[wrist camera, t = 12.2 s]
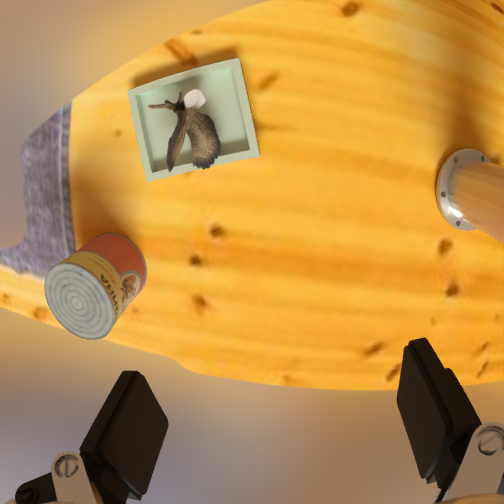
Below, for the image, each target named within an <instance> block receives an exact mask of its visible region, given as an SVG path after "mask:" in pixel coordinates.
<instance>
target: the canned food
mask: <svg viewBox="0 0 504 504" xmlns="http://www.w3.org/2000/svg"><path fill="white" fill-rule="evenodd" d="M146 279H147V268H146V263H145V260H144V258H143V255H142V254H141V252H140V250H139V249H138V248H137V247H136V245H135V244H134V243H133V242H131V241H130V240H129V239H127V238H126V237H124V236H122V235H119V234H115V233H105V234H101V235H99V236H97V237H96V238H95V239H93V240H92V241H91V242H89V243H88V244H86V245H85V246H83V247H82V248H81V249H79V250H78V251H76V252H75V253H73V254H72V255H70V256H69V257H68V258H66V259H65V260H63V261H62V262H60V263H59V264H57V265H55V266H54V267H52V268H51V269H50V271H49V272H48V274H47V276H46V279H45V296H46V300H47V303H48V305H49V307H50V309H51V311H52V313H53V315H54V316H55V318H56V319H57V320H58V321H59V323H60V324H61V325H62V326H63V327H65V328H66V329H67V330H68V331H70V332H71V333H73V334H74V335H76V336H78V337H81V338H84V339H89V340H97V339H101V338H103V337H105V336H106V335H107V334H108V333H109V332H110V331H111V329H112V327H113V326H114V324H115V323H116V322H117V320H118V319H119V318H120V316H121V315H122V314H123V312H124V311H125V310H126V308H127V307H128V306H129V305H130V303H131V302H132V301H133V299H134V298H135V297H136V296H137V294H138V293H139V292H140V291H141V290H142V289H143V287H144V285H145V283H146Z"/></svg>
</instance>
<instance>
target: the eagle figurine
mask: <svg viewBox="0 0 504 504" xmlns="http://www.w3.org/2000/svg"><path fill="white" fill-rule="evenodd" d="M205 101H206V100H205V97H204V95H203V92H202V91H200V90H199V89H193V90H190V91H189V92H187V93H186V94H185V96H184V100H183V101H182V92H179V98H178V100H177V103H172V102H170V101H168V100H165V101H164V103H165V104H158V105H148V107H149V108H152V109H156V108H166V109H168V110H173V112H174V113H176V114H177V117H178V122H177V126H176V127H175V130H174V132H173V133H172V136H171V137H170V138H169V142H168V147H167V148H168V150H167V158H166V162H167V167H168V168H167V169H168V170H169V173H170V172H171V171H172V169H173V166H174V162H175V160H176V157H177V155H178V154H179V153H180V151H181V149H182V147H183V143H184V140H185V136H186V135H185V134H187V135H188V136H189V139H190V141H191V147H192V163H193V166H196V167H197V168H202V169H206V168H207V169H208V168H210V165H211V164H212V165H213V164H214V162H215V159H217V158H218V155H219V154H220V150H221V149H220V148H221V144H220V143H221V141H220V140H219V136H218V134H217V131H216V128H215V127H214V126H215V124H214V122H213V120H212V119H211V118H210V116H208V115H204V114H203V113H202V114H201V113H200V112H197V110H198V109H199V108H200V107H201V106H202V105H203V104H204V103H205Z"/></svg>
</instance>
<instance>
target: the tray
mask: <svg viewBox="0 0 504 504" xmlns="http://www.w3.org/2000/svg"><path fill="white" fill-rule="evenodd" d="M193 89H199V90H200V91H202V92H203V95H204V97H205V100H206V101H205V103H204V104H203V105H202V106H201V107H200V108H199V109H198V110H197V112H200V113H201V114H202V113H203V114H204V115H208V116H210V118H211V119H212V120H213V122H214V124H215V126H214V127H215V128H216V131H217V134H218V136H219V140H220V141H221V143H220V144H221V148H220V149H221V150H220V154H219V155H218V158H217V159H215V162H214V164H213V165H212V164H211V165H210V167H211V166H215V165H220V164H224V163H229V162H234V161H239V160H244V159H249V158H254V157H259V156H260V151H259V146H258V141H257V136H256V131H255V127H254V122H253V117H252V112H251V108H250V103H249V98H248V94H247V89H246V85H245V80H244V75H243V71H242V66H241V62H240V60H239V58H235V59H231V60H226V61H222V62H218V63H214V64H210V65H206V66H202V67H198V68H194V69H191V70H187V71H184V72H180V73H177V74H174V75H171V76H167V77H164V78H161V79H158V80H155V81H152V82H149V83H147V84H144V85H141V86H138V87H136V88H133V89H130V90H128V96H129V102H130V107H131V112H132V117H133V122H134V127H135V132H136V136H137V141H138V146H139V150H140V154H141V159H142V163H143V167H144V171H145V176H146V180H147V182H150V181H154V180H157V179H161V178H165V177H169V176H173V175H177V174H181V173H185V172H189V171H193V170H197V169H202V168H197V167H196V166H193V163H192V147H191V141H190V139H189V136H188V135H187V134H185V135H186V136H185V140H184V143H183V147H182V149H181V151H180V153H179V154H178V155H177V157H176V160H175V162H174V166H173V169H172V171H171V172H170V173H169V170H168V169H167V168H168V167H167V162H166V158H167V150H168V148H167V147H168V142H169V138H170V137H171V136H172V133H173V132H174V130H175V127H176V126H177V122H178V117H177V114H176V113H174V112H173V110H168V109H166V108H156V109H152V108H149V107H148V105H158V104H165V103H164V101H165V100H168V101H170V102H172V103H177V100H178V98H179V92H182V101H183V100H184V96H185V94H186V93H187V92H189V91H190V90H193Z"/></svg>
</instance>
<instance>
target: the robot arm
mask: <svg viewBox="0 0 504 504" xmlns="http://www.w3.org/2000/svg"><path fill="white" fill-rule="evenodd" d="M441 192H442V193H441ZM436 197H437V203H438V207H439V210H440V212H441V214H442V216H443V217H444V218H445V220H446V221H447V222H448V223H449V224H450V225H452V226H453V227H455V228H457V229H460V230H463V231H470V230H474V229H476V228H477V229H479V230H481V231H483V232H484V233H486V234H488V235H490V236H491V237H493V238H495V239H496V240H498V241H500V242H501V243H503V244H504V166H502V165H497V164H493V163H491V161H490V159H489V158H488V157H487V156H486V155H485V154H483V153H482V152H480V151H478V150H475V149H469V148H466V149H460V150H457V151H455V152H454V153H452V154H451V155H450V156H449V157H448V158H447V159H446V160H445V162H444V163H443V165H442V167H441V169H440V171H439V175H438V178H437V184H436ZM397 405H398V408H399V411H400V414H401V417H402V420H403V423H404V426H405V428H406V432H407V434H408V438H409V441H410V444H411V447H412V450H413V454H414V457H415V460H416V463H417V467H418V470H419V473H420V476H421V478H422V479H424V478H426V480H427V484H430V483H432V482H437V485H438V488H440V491H439V492H438V495H437V496H436V499H435V500H434V502H433V504H504V425H503V424H501V423H498V422H488V423H484V424H482V423H481V421H480V419H479V418H478V416H477V414H476V412H475V410H474V408H473V406H472V404H471V402H470V401H469V399H468V397H467V395H466V393H465V392H464V390H463V388H462V386H461V385H460V383H459V381H458V379H457V378H456V376H455V374H454V373H453V371H452V370H451V369H450V368H446V369H445V368H444V367H443V365H442V363H441V361H440V360H439V358H438V356H437V355H436V353H435V351H434V350H433V348H432V346H431V345H430V343H429V342H428V340H427V339H426V338H425V337H424V338H420V339H416V340H411V341H410V342H409V344H408V346H405V347H404V353H403V361H402V368H401V375H400V381H399V387H398V393H397ZM167 429H168V420H167V417H166V415H165V414H164V412H163V410H162V408H161V407H160V405H159V403H158V401H157V400H156V398H155V396H154V394H153V392H152V390H151V388H150V386H149V384H148V383H147V381H146V379H145V377H144V376H143V375H141V374H140V372H138V371H123V372H122V373H121V375H120V376H119V378H118V380H117V382H116V383H115V385H114V387H113V389H112V390H111V392H110V394H109V396H108V397H107V399H106V401H105V403H104V405H103V406H102V408H101V410H100V412H99V413H98V415H97V417H96V419H95V421H94V423H93V424H92V426H91V428H90V430H89V432H88V434H87V436H86V437H85V439H84V441H83V443H82V445H81V447H80V449H79V450H80V451H81V452H80V454H78V453H75V452H73V451H67V452H63V453H61V454H59V455H58V456H57V457H56V458H55V459H54V461H53V462H52V466H51V472H50V473H48V474H45V475H43V476H41V477H38V478H36V479H34V480H31V481H28V482H26V483H24V484H22V485H21V486H20V487H19V488H18V489H17V491H16V495H15V500H13V499H11V500H10V501H8V502H7V503H5V504H126V500H127V498H130V499H135V500H139V501H140V500H141V497H142V495H144V494H145V493H146V492H147V489H148V486H149V483H150V480H151V477H152V474H153V471H154V468H155V465H156V462H157V459H158V456H159V452H160V450H161V446H162V444H163V441H164V438H165V435H166V432H167Z"/></svg>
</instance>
